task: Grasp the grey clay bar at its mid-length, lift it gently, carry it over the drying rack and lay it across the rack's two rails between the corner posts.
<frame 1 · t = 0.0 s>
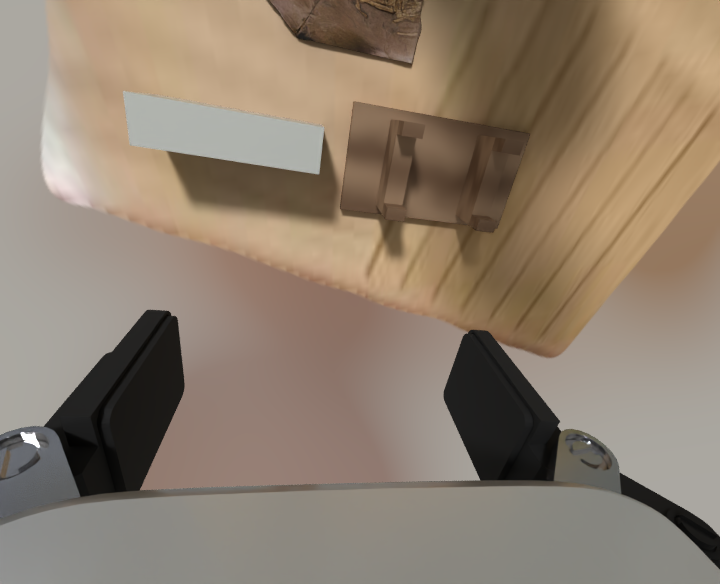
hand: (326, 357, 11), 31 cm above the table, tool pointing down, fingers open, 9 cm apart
drying rack: (431, 170, 39), on the table
clay bar: (243, 131, 35), on the table
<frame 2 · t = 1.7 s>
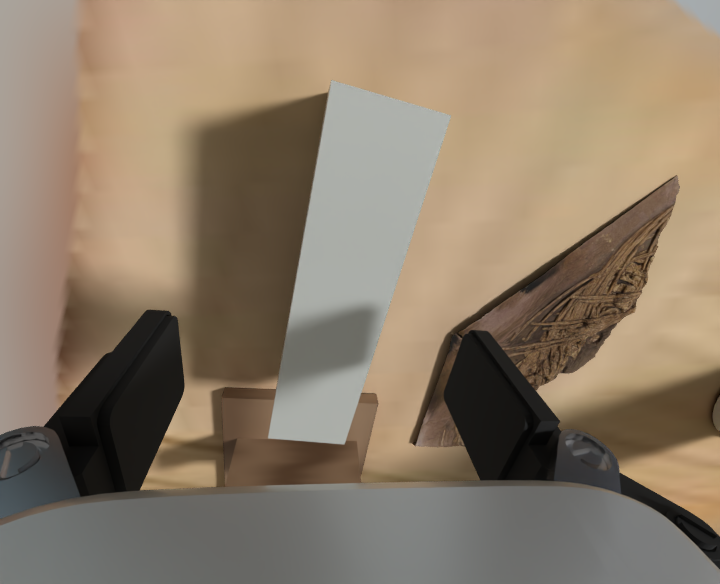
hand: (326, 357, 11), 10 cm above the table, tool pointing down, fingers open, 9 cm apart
drying rack: (294, 477, 29), on the table
wooden fragment: (526, 334, 25), on the table
clay bar: (334, 251, 20), on the table
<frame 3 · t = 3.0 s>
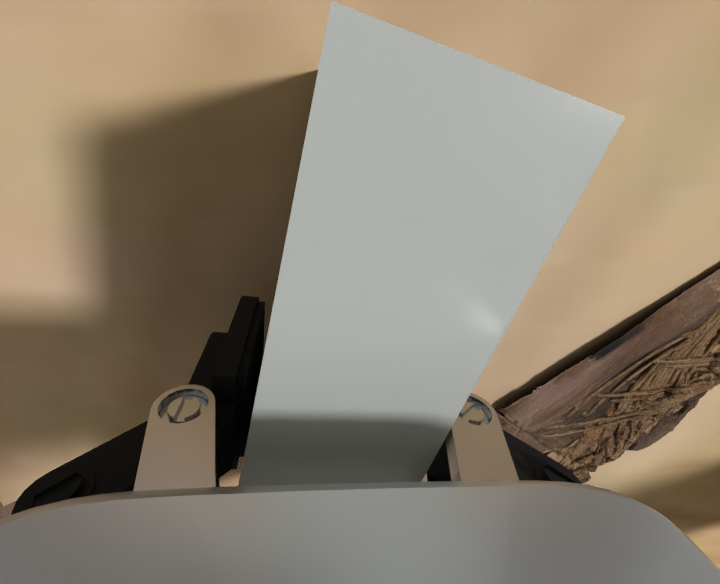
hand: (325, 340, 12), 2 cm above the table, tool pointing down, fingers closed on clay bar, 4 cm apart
wooden fragment: (585, 404, 19), on the table
clay bar: (324, 314, 14), on the table, touching gripper
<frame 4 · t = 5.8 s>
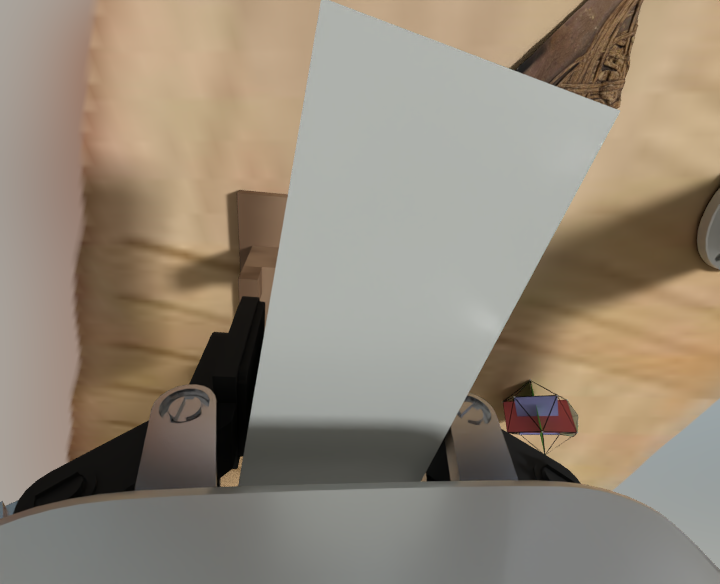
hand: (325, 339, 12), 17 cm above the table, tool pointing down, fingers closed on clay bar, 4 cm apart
drying rack: (306, 307, 31), on the table
geometric puzzle: (520, 393, 41), on the table
wooden fragment: (519, 138, 27), on the table
clay bar: (324, 314, 14), point 16 cm above the table, touching gripper
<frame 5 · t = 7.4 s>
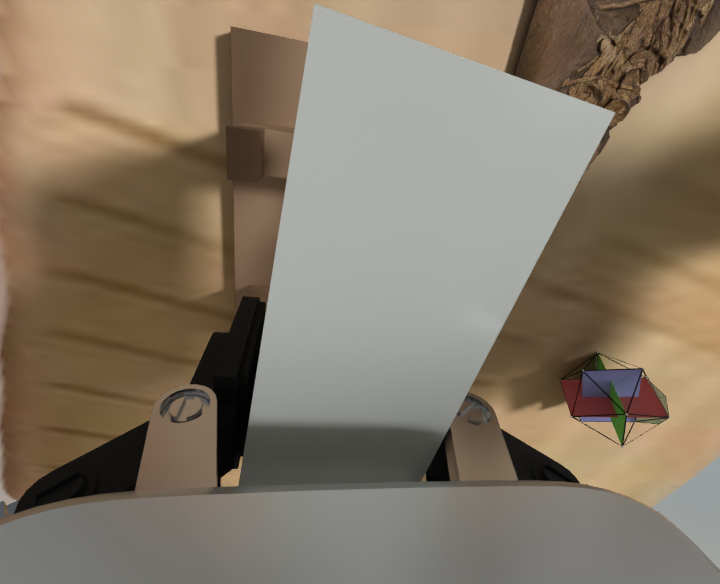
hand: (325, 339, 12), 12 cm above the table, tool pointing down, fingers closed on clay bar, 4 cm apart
drying rack: (322, 231, 23), on the table
geometric puzzle: (582, 370, 32), on the table
clay bar: (324, 315, 14), point 11 cm above the table, touching gripper
when the fingers open (8 cm above the table, at t = 8.4 s): clay bar drops 1 cm, resting on drying rack.
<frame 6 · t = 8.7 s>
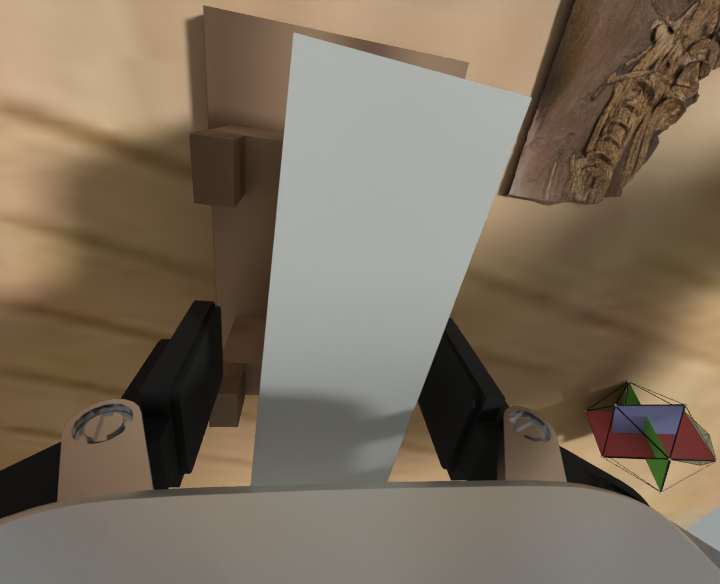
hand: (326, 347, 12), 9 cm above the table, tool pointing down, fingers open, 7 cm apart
drying rack: (320, 253, 19), on the table
geometric puzzle: (610, 400, 29), on the table
clay bar: (326, 295, 15), point 5 cm above the table, touching drying rack
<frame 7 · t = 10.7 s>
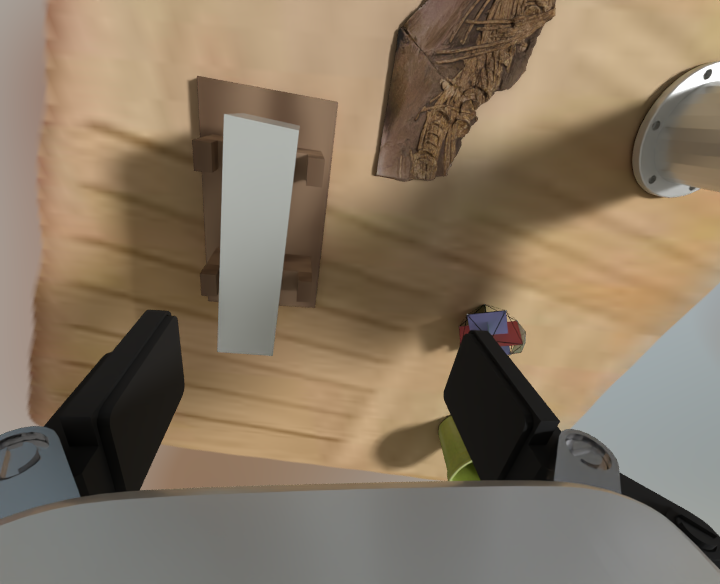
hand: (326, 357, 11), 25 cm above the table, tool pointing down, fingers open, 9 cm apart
drying rack: (267, 209, 33), on the table
plant pot: (455, 425, 52), on the table
geometric puzzle: (476, 319, 43), on the table
wooden fragment: (465, 45, 29), on the table
clay bar: (263, 224, 28), point 5 cm above the table, touching drying rack
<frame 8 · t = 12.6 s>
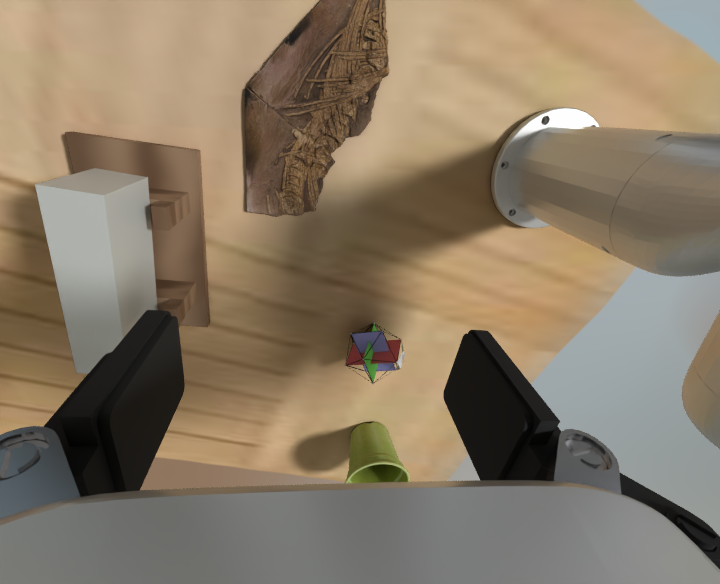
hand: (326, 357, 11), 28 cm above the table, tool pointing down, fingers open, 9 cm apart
drying rack: (151, 241, 37), on the table
plant pot: (368, 432, 55), on the table
geometric puzzle: (369, 336, 46), on the table
wooden fragment: (313, 98, 33), on the table
clay bar: (131, 259, 32), point 5 cm above the table, touching drying rack
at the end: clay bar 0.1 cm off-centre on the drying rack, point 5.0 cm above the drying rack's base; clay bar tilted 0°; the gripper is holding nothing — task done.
